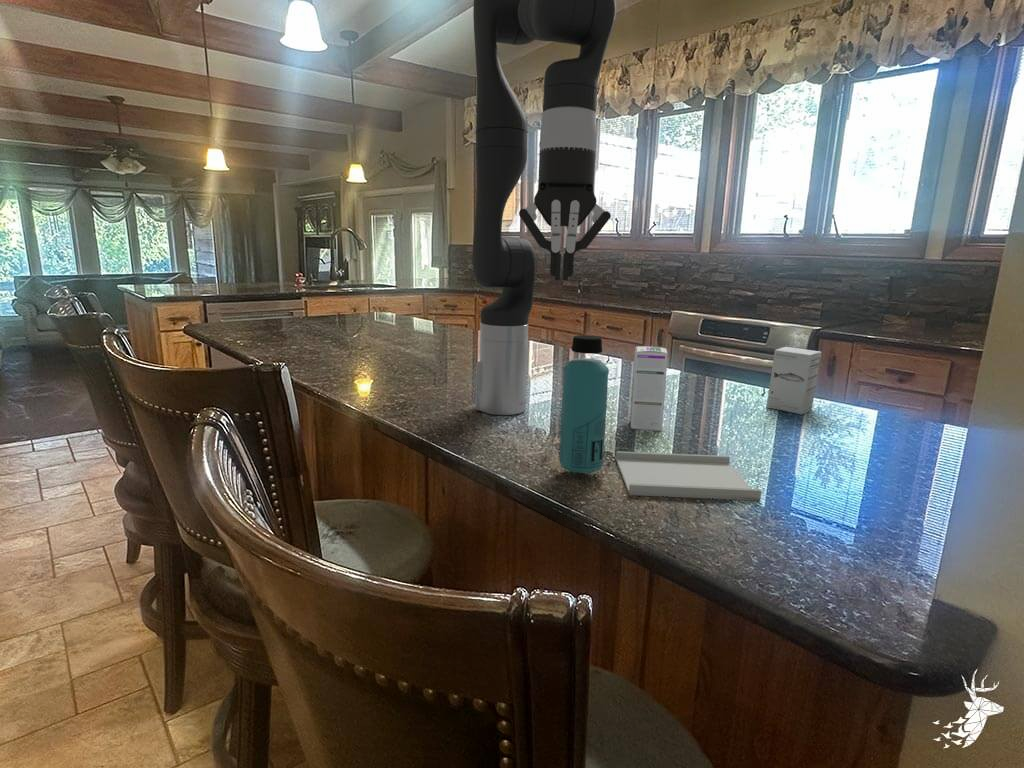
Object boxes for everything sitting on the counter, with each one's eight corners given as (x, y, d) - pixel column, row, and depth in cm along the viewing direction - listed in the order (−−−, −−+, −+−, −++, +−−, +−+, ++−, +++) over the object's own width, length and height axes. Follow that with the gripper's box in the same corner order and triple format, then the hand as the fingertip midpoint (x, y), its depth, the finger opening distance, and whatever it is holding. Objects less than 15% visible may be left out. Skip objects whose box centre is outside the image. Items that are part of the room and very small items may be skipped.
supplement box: (765, 408, 121) (773, 349, 118) (777, 402, 126) (785, 345, 123) (802, 415, 116) (811, 354, 113) (813, 409, 121) (822, 350, 118)
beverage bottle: (591, 487, 77) (601, 341, 72) (548, 476, 80) (555, 335, 76) (610, 472, 82) (620, 335, 78) (569, 462, 86) (576, 330, 81)
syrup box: (662, 431, 102) (670, 352, 99) (629, 428, 103) (635, 350, 100) (661, 423, 108) (668, 347, 104) (629, 420, 109) (635, 345, 106)
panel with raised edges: (629, 495, 75) (630, 485, 75) (615, 459, 88) (616, 451, 87) (760, 500, 74) (761, 490, 74) (727, 464, 87) (728, 455, 87)
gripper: (516, 143, 73) (512, 280, 77) (621, 145, 73) (611, 283, 77) (518, 153, 80) (514, 277, 84) (613, 155, 80) (605, 280, 84)
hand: (561, 280), depth 80 cm, fingers closed
